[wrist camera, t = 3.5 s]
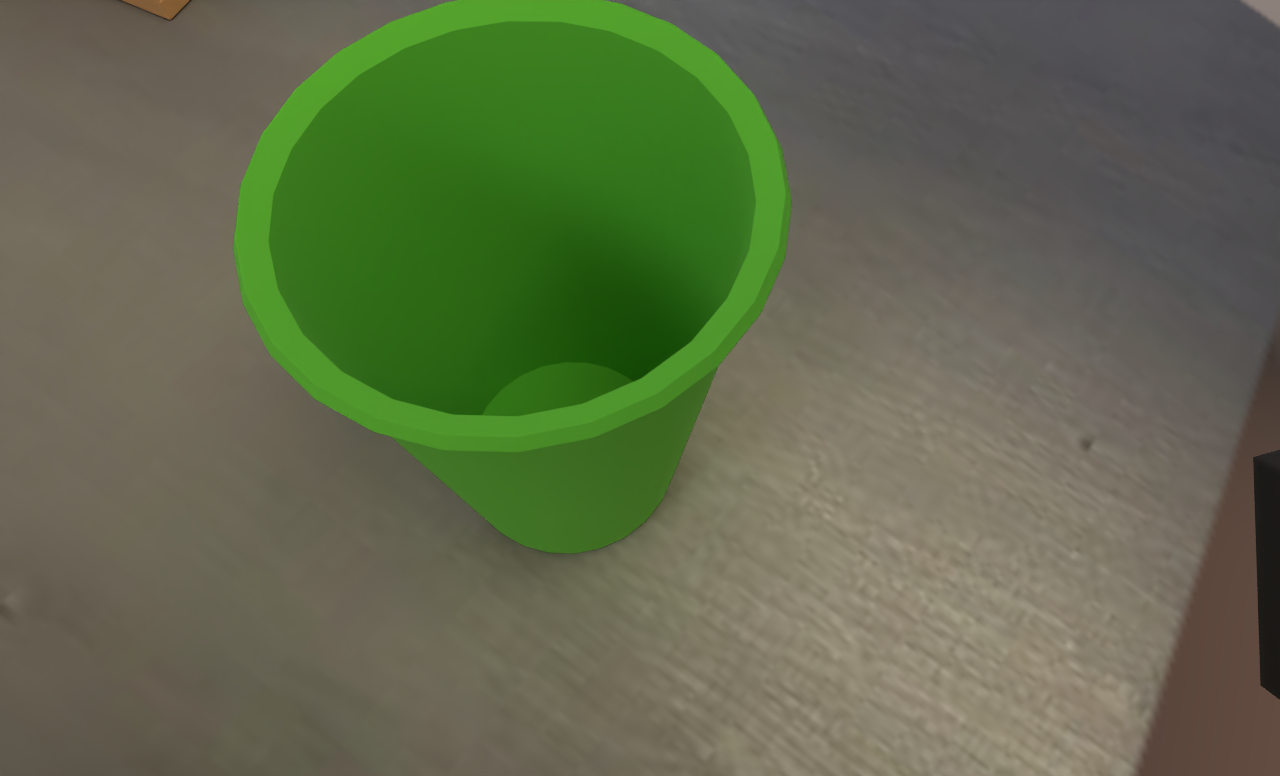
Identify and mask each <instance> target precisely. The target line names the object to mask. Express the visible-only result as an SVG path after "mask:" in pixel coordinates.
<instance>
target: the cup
mask: <svg viewBox="0 0 1280 776" xmlns="http://www.w3.org/2000/svg"><path fill="white" fill-rule="evenodd" d="M791 205H792V200H791V194H790V189H789V183H788V178H787V172H786V166H785V161H784V155H783V150H782V147H781V145H780V143H779V141H778V139H777V137H776V135H775V133H774V131H773V129H772V127H771V126H770V124H769V122H768V120H767V118H766V116H765V114H764V112H763V110H762V108H761V106H760V104H759V102H758V100H757V99H756V97H755V96H754V94H753V93H752V92H751V91H750V90H749V89H748V87H747V86H746V85H745V84H744V83H743V82H742V81H741V80H740V79H739V78H738V76H737V75H736V74H735V73H734V72H733V71H732V70H731V69H730V68H729V67H728V65H727V64H726V63H725V62H724V61H723V60H722V59H721V58H720V57H719V56H718V54H716V53H715V52H713V51H712V50H710V49H709V48H707V47H706V46H704V45H703V44H701V43H700V42H698V41H697V40H695V39H694V38H692V37H691V36H689V35H688V34H686V33H685V32H683V31H682V30H680V29H679V28H677V27H676V26H674V25H673V24H671V23H668V22H666V21H663V20H661V19H658V18H656V17H653V16H651V15H648V14H646V13H643V12H641V11H638V10H636V9H633V8H630V7H628V6H625V5H623V4H620V3H615V2H610V1H605V0H458V1H452V2H446V3H443V4H440V5H438V6H435V7H432V8H429V9H426V10H423V11H421V12H418V13H415V14H412V15H409V16H406V17H404V18H401V19H398V20H395V21H392V22H390V23H388V24H386V25H384V26H383V27H381V28H379V29H378V30H376V31H374V32H372V33H371V34H369V35H367V36H365V37H364V38H362V39H360V40H358V41H357V42H355V43H353V44H351V45H350V46H348V47H346V48H344V49H343V50H341V51H339V52H338V53H337V54H336V55H334V56H333V57H332V58H331V59H330V60H329V61H328V62H326V63H325V64H324V65H323V66H322V67H321V68H319V69H318V70H317V71H316V72H315V73H314V74H313V75H311V76H310V77H309V78H308V79H307V80H306V81H304V82H303V83H302V84H301V85H300V86H299V87H298V88H296V89H295V91H294V92H293V93H292V95H291V96H290V97H289V99H288V100H287V101H286V103H285V104H284V105H283V107H282V108H281V109H280V111H279V112H278V113H277V115H276V116H275V117H274V119H273V120H272V121H271V123H270V124H269V125H268V127H267V128H266V130H265V131H264V132H263V134H262V135H261V138H260V140H259V143H258V145H257V147H256V150H255V152H254V155H253V157H252V159H251V162H250V164H249V166H248V169H247V171H246V174H245V176H244V178H243V181H242V183H241V187H240V193H239V202H238V210H237V218H236V227H235V235H234V243H233V252H234V258H235V263H236V269H237V274H238V280H239V285H240V291H241V296H242V302H243V305H244V307H245V309H246V310H247V312H248V314H249V316H250V318H251V320H252V322H253V324H254V325H255V327H256V329H257V331H258V333H259V335H260V337H261V339H262V340H263V342H264V344H265V346H266V348H267V350H268V352H269V354H270V355H271V356H272V357H273V358H274V359H275V360H276V361H277V362H278V363H279V364H280V365H281V366H282V367H283V368H284V369H285V370H286V371H287V372H288V373H289V374H290V375H291V376H292V377H293V378H294V379H295V380H296V381H297V382H298V383H299V384H300V385H301V386H302V387H303V388H304V389H305V390H306V391H307V392H308V393H309V394H310V395H311V396H312V397H313V398H314V399H315V400H317V401H319V402H321V403H323V404H324V405H326V406H328V407H330V408H332V409H333V410H335V411H337V412H339V413H341V414H342V415H344V416H346V417H348V418H350V419H351V420H353V421H355V422H357V423H359V424H360V425H362V426H364V427H366V428H368V429H369V430H371V431H373V432H376V433H380V434H384V435H388V436H391V437H392V438H393V439H394V440H395V441H397V442H398V443H399V444H400V445H401V446H402V447H403V448H405V449H406V450H407V451H408V452H409V453H410V454H411V455H413V456H414V457H415V458H416V459H417V460H418V461H419V462H421V463H422V464H423V465H424V466H425V467H426V468H427V469H429V470H430V471H431V472H432V473H433V474H434V475H435V476H437V477H438V478H439V479H440V480H441V481H442V482H443V483H445V484H446V485H447V486H448V487H449V488H450V489H451V490H453V491H454V492H455V493H456V494H457V495H458V496H459V497H461V498H462V499H463V500H464V501H465V502H466V503H467V504H469V505H470V506H471V507H472V508H473V509H474V510H475V511H477V512H478V513H479V514H480V515H481V516H482V517H483V518H485V519H486V520H487V521H488V522H489V523H490V524H491V525H493V526H494V527H495V528H496V529H497V530H498V531H499V532H501V533H502V534H504V535H505V536H507V537H509V538H511V539H513V540H514V541H516V542H518V543H520V544H521V545H523V546H527V547H530V548H534V549H537V550H541V551H545V552H548V553H580V552H584V551H589V550H594V549H599V548H603V547H605V546H607V545H609V544H611V543H614V542H616V541H618V540H620V539H622V538H624V537H626V536H627V535H629V534H630V533H631V532H633V531H634V530H635V529H636V528H638V527H639V526H640V525H642V524H643V523H644V522H645V521H646V520H647V519H648V518H649V517H650V515H651V514H652V513H653V512H654V510H655V509H656V508H657V507H658V505H659V504H660V503H661V501H662V500H663V497H664V495H665V493H666V491H667V488H668V486H669V484H670V482H671V479H672V477H673V475H674V472H675V470H676V467H677V465H678V463H679V460H680V458H681V455H682V453H683V450H684V448H685V446H686V443H687V441H688V438H689V436H690V433H691V431H692V429H693V426H694V424H695V421H696V419H697V416H698V414H699V412H700V409H701V407H702V404H703V402H704V400H705V397H706V395H707V392H708V390H709V387H710V385H711V383H712V380H713V378H714V375H715V373H716V370H717V368H718V366H719V365H720V363H721V362H722V361H723V360H724V358H725V357H726V356H727V355H728V353H729V352H730V351H731V350H732V349H733V347H734V346H735V345H736V344H737V342H738V341H739V340H740V339H741V337H742V336H743V335H744V334H745V332H746V331H747V330H748V329H749V328H750V326H751V325H752V324H753V323H754V321H755V320H756V319H757V318H758V316H759V315H760V314H761V312H762V310H763V307H764V305H765V303H766V300H767V298H768V296H769V294H770V291H771V289H772V287H773V284H774V282H775V280H776V278H777V275H778V273H779V271H780V268H781V266H782V264H783V262H784V259H785V254H786V246H787V238H788V230H789V221H790V213H791Z"/></svg>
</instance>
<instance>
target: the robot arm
mask: <svg viewBox="0 0 1280 776" xmlns="http://www.w3.org/2000/svg"><path fill="white" fill-rule="evenodd" d="M1253 462H1254V493H1255V522H1256V552H1257V553H1256V554H1257V586H1258V616H1259V617H1258V618H1259V649H1260V678H1261V679H1260V680H1261V686H1262V687H1264V688H1265V689H1266V690H1268V691H1269V692H1270V693H1272V694H1273V695H1274V696H1276V697H1277V698H1278V699H1280V450H1278V451H1274V452H1271V453H1267V454H1263V455H1260V456H1257V457H1253Z"/></svg>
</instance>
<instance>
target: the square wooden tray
mask: <svg viewBox="0 0 1280 776" xmlns="http://www.w3.org/2000/svg"><path fill="white" fill-rule="evenodd" d="M122 1H124V2H127V3H129V4H132V5H134V6H137V7H139V8H141V9H144V10H146V11H149V12H151V13H154V14H156V15H159V16H161V17H163V18H166V19H168V20H171V19H172V18H173V17H174V16H175V15H176V14H177V13H178V12H179V11H180V10H181V9H182V8H183V7H184V6H185V5H186V4H187V3H188V2H189V1H190V0H122Z"/></svg>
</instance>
